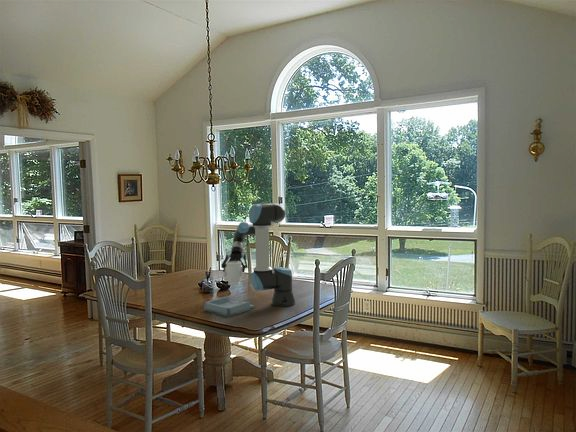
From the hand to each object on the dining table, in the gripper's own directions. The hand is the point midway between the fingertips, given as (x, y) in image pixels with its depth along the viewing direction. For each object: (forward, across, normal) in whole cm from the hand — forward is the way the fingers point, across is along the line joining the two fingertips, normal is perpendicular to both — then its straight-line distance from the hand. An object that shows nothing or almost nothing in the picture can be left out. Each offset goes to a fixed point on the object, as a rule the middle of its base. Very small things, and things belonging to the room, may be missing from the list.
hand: (233, 276), depth 292 cm
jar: (+2, 0, -6) cm, 7 cm away
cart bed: (+27, -2, +3) cm, 27 cm away
